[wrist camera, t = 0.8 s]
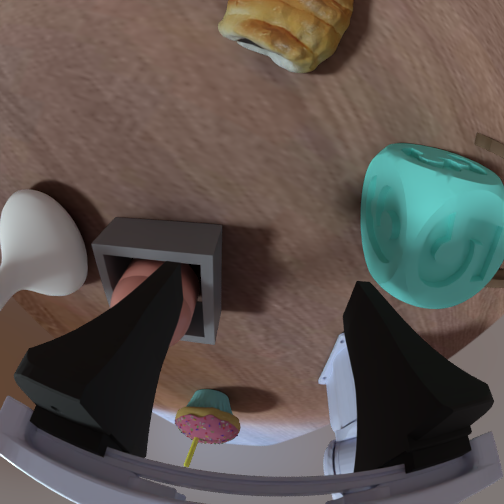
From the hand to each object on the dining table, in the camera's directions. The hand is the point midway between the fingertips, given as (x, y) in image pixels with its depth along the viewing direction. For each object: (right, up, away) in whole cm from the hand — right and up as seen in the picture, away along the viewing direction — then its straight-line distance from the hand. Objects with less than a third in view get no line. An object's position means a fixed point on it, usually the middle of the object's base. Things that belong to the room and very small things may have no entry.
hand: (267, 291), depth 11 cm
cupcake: (-6, -18, +24) cm, 31 cm away
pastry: (+2, +17, +1) cm, 17 cm away
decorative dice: (+11, +6, +7) cm, 14 cm away
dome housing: (-7, 0, +12) cm, 14 cm away
